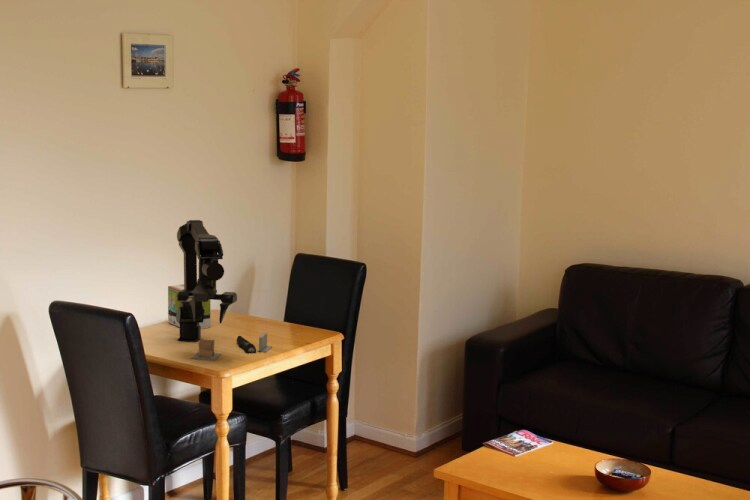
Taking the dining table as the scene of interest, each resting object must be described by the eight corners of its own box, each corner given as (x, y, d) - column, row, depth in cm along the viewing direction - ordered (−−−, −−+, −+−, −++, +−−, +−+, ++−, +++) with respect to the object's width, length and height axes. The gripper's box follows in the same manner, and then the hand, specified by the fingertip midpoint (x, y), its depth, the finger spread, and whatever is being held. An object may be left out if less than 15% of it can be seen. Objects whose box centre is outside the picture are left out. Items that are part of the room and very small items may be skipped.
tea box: (166, 323, 352) (167, 285, 350) (190, 320, 359) (190, 282, 357) (187, 331, 341) (188, 291, 339) (211, 327, 348) (211, 289, 346)
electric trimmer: (244, 343, 328) (244, 334, 328) (257, 353, 314) (257, 344, 314) (234, 344, 327) (234, 335, 326) (246, 354, 313) (246, 345, 312)
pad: (190, 358, 304) (190, 357, 304) (198, 352, 312) (198, 351, 312) (214, 360, 303) (214, 359, 303) (221, 354, 311) (221, 353, 311)
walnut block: (202, 353, 309) (202, 339, 309) (214, 354, 309) (214, 339, 308) (198, 356, 305) (198, 342, 305) (210, 357, 305) (210, 342, 304)
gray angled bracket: (257, 351, 316) (258, 337, 315) (263, 346, 323) (263, 332, 322) (266, 352, 315) (266, 338, 315) (271, 347, 322) (271, 333, 321)
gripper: (171, 277, 297) (171, 325, 299) (228, 281, 294) (227, 329, 296) (182, 272, 307) (182, 318, 310) (237, 275, 305) (237, 322, 307)
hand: (207, 322), depth 305 cm, fingers open, 9 cm apart
